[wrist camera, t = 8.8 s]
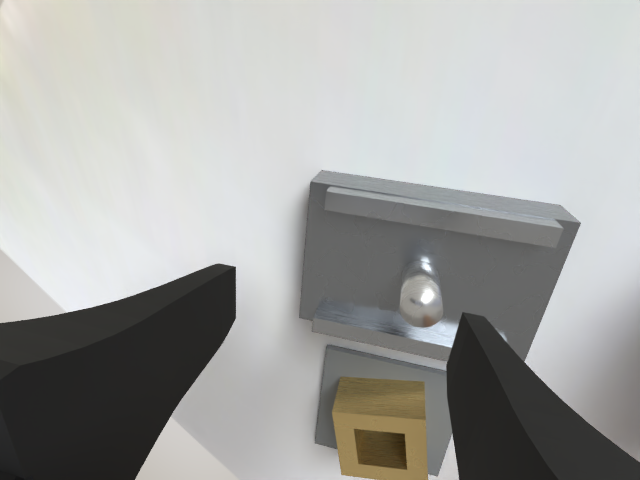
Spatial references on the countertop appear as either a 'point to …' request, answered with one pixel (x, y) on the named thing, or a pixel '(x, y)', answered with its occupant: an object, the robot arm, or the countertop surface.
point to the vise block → (427, 262)
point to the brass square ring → (381, 428)
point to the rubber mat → (378, 367)
